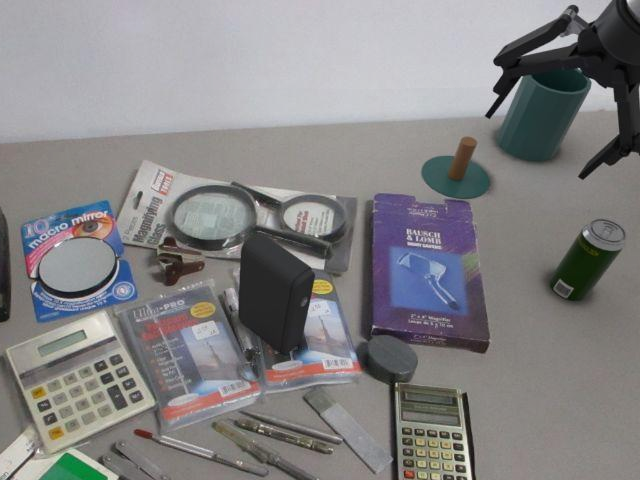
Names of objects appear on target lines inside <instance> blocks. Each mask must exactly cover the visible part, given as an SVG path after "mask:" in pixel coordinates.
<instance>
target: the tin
mask: <svg viewBox="0 0 640 480" xmlns="http://www.w3.org/2000/svg"><path fill="white" fill-rule="evenodd" d="M581 72H582V71H581V70H580V68H577V69H572V70H566V71H564V70H563V69H559V70H553V71H548V72H543V73H537V74H532V75H527V76H522V77H521V78H520V82H519V84H518V87H517V88H516V91H515V93H514V96H513V98H512V100H511V103H510V105H509V107H508V109H507V112H506V114H505V116H504V119H503V121H502V123H501V126H500V128H499V130H498V133H497V136H496V141H497V144H498V146H499V147H500V148H501V149H502V150H503V151H504V152H505V153H506V154H508V155H510V156H512V157H514V158H517V159H520V160H523V161H527V162H539V163H540V162H544V161H549V160H551V159H552V158H553V157H554V156H556V154H557V152H558V150H559V148H560V147H561V145H562V143H563V141H564V139H565V137H566V135H567V133H568V132H569V130H570V128H571V126H572V124H573V122H574V121H575V119H576V116H578V113H579V111H580V109H581V107H582V106H583V103H584V101H585V100H586V98H587V97H588V94H589V93H590V91H591V89H592V79H590V78H588V77H585V76H584V75H582V74H581Z"/></svg>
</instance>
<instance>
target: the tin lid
mask: <svg viewBox="0 0 640 480" xmlns="http://www.w3.org/2000/svg"><path fill="white" fill-rule="evenodd" d="M477 145H478V141H477V139H475V138H474V137H471V136H463V137H461V138H460V141H459V144H458V147H457V149H456V152H455V154H454V155H438V156H437V155H436V156H434V157H432V158H431V157H430V158H429V159H428V160H427V161H425V162H424V163H423V165H422V167H421V177H422V179H423V181H424V183H425V184H426V185H427V186H428V187H429V188H430V189H431V190H433V191H435V192H437V193H438V194H441V195H443V196H445V197H448V198H451V199H459V200H470V199H475V198H476V199H477V198H478V197H481V196H483V195H485V194H486V192H487V191H488V190H489V187H490V177H489V175H488V173H487V172H486V171H485V170H484V169H483V168H482V167H481V166H480V165H479V164H477V163H475V162H474V161H472V158H473V155H474V154H475V153H474V152H475V150H476V148H477Z"/></svg>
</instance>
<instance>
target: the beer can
mask: <svg viewBox="0 0 640 480" xmlns="http://www.w3.org/2000/svg"><path fill="white" fill-rule="evenodd" d="M628 238H629V234H628V232H627V230H626V229H625V227H623V226H622V225H621V224H620V223H618V222H616V221H614V220H613V219H608V218H606V217H605V218H604V217H595V218H592V219H591V220H589V221H588V223H586V224H585V225H584V226H583V227H582V229H581V230H580V232H578V235H577V236H576V238H575V239H574V240H573V242H572V244H571V245H570V247H569V248H568V250H567V251H566V253H565V254H564V256H563V257H562V259H561V261H560V262H559V263H558V265H557V267H556V268H555V270H554V271H553V273H552V274H551V276H550V278H549V281H548V284H549V287H550V288H551V290H552V292H554V293H555V295H557V296H558V297H559V298H561V299H564V300H566V301H571V302H580V301H584V300H585V299H586V298H587V297H588V296H589V295H590V293H591V292H592V291H593V290H594V288H595V286H597V284H598V283H599V281H600V280H601V278H602V277H603V276H604V275H605V273H606V272H607V271H608V270H609V268H610V267H611V265H612V264H613V263H614V261H615V260H616V259H617V257H618V256H619V254H620V253H621V252H622V250H624V248H625V246H626V242H627V240H628Z"/></svg>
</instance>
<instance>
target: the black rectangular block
mask: <svg viewBox="0 0 640 480" xmlns="http://www.w3.org/2000/svg"><path fill="white" fill-rule="evenodd" d="M315 279H316V273H315V271H313V268H312V266H310V265H309V264H308V263H306V262H304V261H303V260H302V259H300V258H299V257H297V256H296V255H295V254H293V253H292V252H290V251H289V250H287V249H286V248H284V247H283V246H282V245H280V244H279V243H278V242H276V241H274V240H273V239H272V238H270V237H269V236H267V235H266V234H261V233H254V234H252V235H251V236H250V237H249V238H247V239H246V240H244V242H243V243H242V245H241V248H240V261H239V281H238V284H239V285H238V306H237V308H238V309H237V311H238V312H237V317H238V320H240V323H241V324H242V325H244V326H245V327H246V328H247V329H249V330H250V331H251V332H252V333H253V334H254V335H256V336H257V337H258V338H260V339H261V340H262V341H263V342H265V344H267V345H268V346H269V347H271V348H272V349H273V350H275V351H276V352H277V353H278V354H280V353H281V354H282V355H284V356H287V355H288V354H290V353H291V352H292V351H293V350H294V349H295V348H297V346H299V345H300V344H301V342H302V339H303V335H304V332H305V327H306V323H307V319H308V313H309V310H310V304H311V298H312V294H313V290H314V289H313V288H314V284H315Z"/></svg>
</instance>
